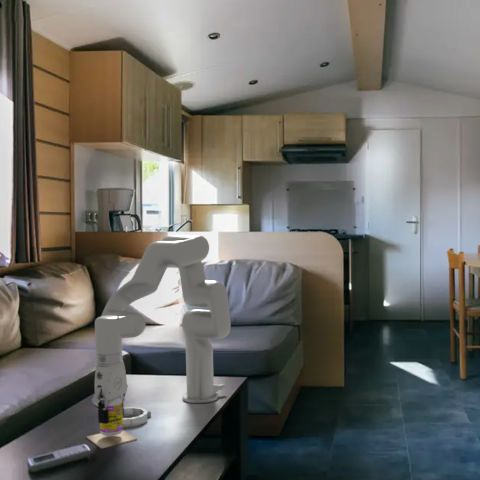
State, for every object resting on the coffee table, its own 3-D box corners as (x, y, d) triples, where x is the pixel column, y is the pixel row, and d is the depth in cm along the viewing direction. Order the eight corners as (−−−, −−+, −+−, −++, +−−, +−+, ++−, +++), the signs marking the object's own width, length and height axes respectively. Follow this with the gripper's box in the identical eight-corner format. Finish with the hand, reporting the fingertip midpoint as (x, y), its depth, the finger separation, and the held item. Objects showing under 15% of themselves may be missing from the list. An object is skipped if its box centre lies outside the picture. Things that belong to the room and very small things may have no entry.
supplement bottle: (101, 437, 182) (99, 393, 181) (98, 430, 188) (97, 387, 188) (124, 434, 184) (123, 390, 184) (121, 427, 190) (120, 384, 190)
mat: (120, 429, 194) (120, 428, 194) (136, 439, 185) (136, 438, 185) (86, 437, 187) (86, 436, 187) (101, 448, 178) (101, 447, 178)
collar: (140, 411, 212) (140, 404, 212) (158, 420, 202) (158, 412, 202) (97, 421, 203) (96, 413, 203) (113, 431, 193) (113, 423, 193)
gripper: (101, 366, 176) (103, 430, 177) (136, 353, 192) (138, 411, 192) (79, 364, 179) (82, 427, 180) (116, 351, 195) (118, 409, 196)
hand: (111, 418), depth 186 cm, fingers closed on supplement bottle, 6 cm apart
